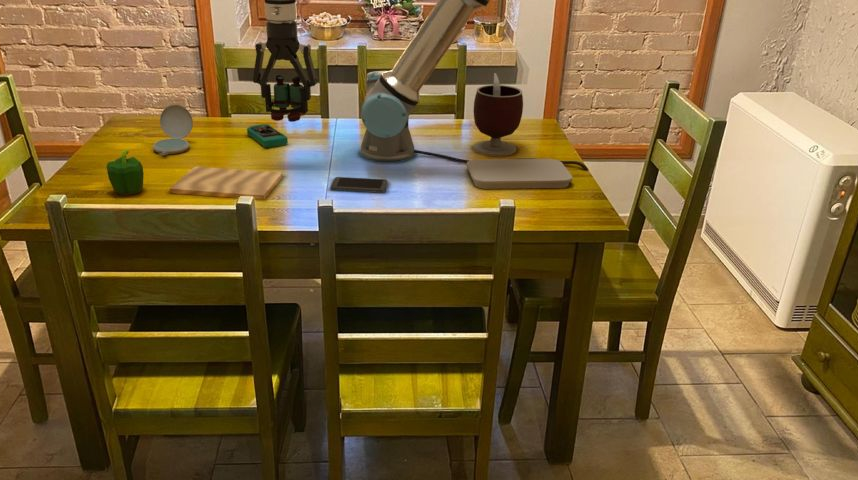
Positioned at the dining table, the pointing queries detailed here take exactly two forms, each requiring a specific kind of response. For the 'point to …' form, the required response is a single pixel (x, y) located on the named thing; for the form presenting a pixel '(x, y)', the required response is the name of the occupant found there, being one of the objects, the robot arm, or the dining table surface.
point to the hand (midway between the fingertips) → (287, 111)
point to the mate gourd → (497, 116)
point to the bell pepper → (126, 174)
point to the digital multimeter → (267, 135)
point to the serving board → (227, 182)
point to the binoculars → (286, 100)
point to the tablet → (518, 173)
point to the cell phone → (359, 184)
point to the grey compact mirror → (174, 130)
